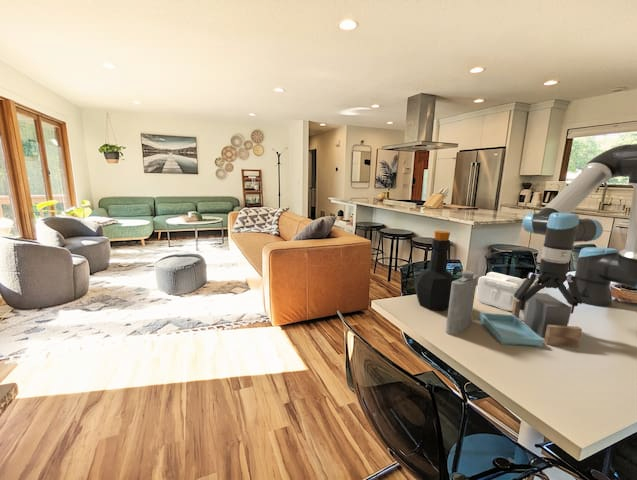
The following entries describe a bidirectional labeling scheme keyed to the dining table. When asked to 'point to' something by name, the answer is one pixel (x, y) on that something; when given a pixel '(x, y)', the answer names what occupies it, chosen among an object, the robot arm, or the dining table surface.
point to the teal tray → (510, 330)
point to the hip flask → (461, 303)
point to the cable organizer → (498, 290)
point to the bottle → (436, 276)
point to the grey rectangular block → (545, 313)
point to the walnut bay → (557, 332)
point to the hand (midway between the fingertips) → (543, 320)
